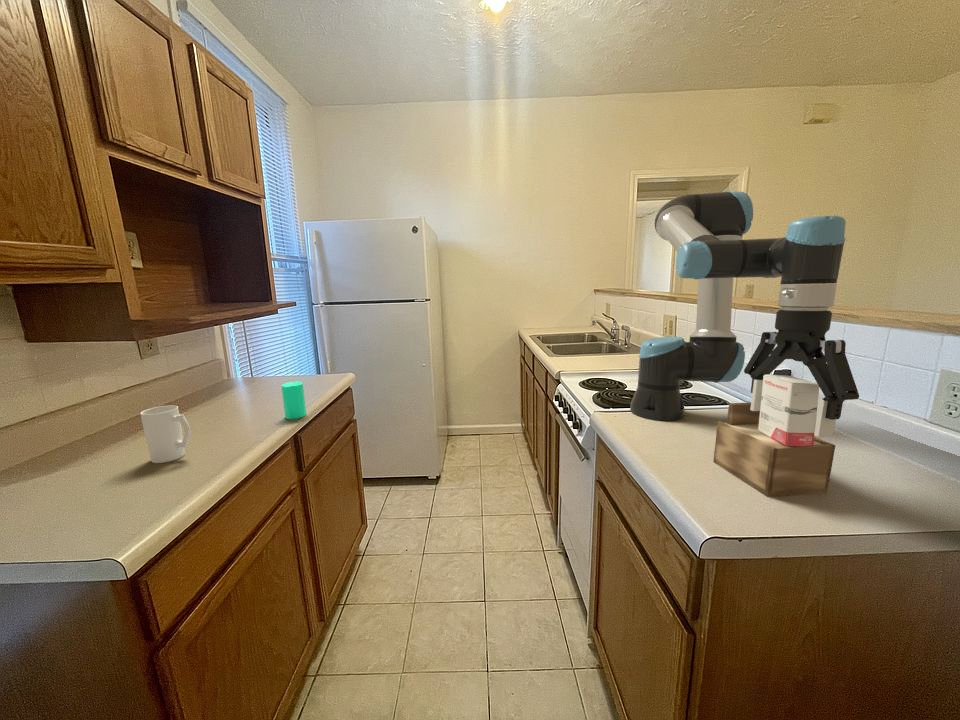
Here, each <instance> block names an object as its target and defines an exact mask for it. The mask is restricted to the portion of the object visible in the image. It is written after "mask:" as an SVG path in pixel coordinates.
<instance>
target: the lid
mask: <svg viewBox="0 0 960 720" xmlns="http://www.w3.org/2000/svg"><path fill="white" fill-rule="evenodd" d="M750 408H751V401H750V402H749V401H748V402H729V403H728V410H727V411H728V412H727V418H726V422H724V423H725V424H727V425H729V426H731V427H733V428H736V429H738V430H740V431H742V432H744V433H746V434H748V435H750V436H752V437H754V438H756V439H759V440H761V441H763V442H765V443H767V444H769V445H771V446H773V447H783V446H786V445H784V444H782V443H780V442H778V441H776V440H775V439H773V438H771V437H769V436H767V435H765V434H764V433H762V432H760V431H758V427H759V417H760V411H751V410H750ZM820 444H821V443H819V442H816V441H814V445H820Z"/></svg>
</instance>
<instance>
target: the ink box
mask: <svg viewBox="0 0 960 720" xmlns="http://www.w3.org/2000/svg"><path fill="white" fill-rule="evenodd" d="M819 394H820V387H819V385H818V384H817V382H815V381H814V382H813V381H811V380H807V379H803V378H798V377H795V376H791V375H787V374H785V375H784V374H783V375H782V374H769V375H764V376H763V387H762V398H761V407H760V417H759V427H758V431H760V432H762V433H764V434H765V435H767V436H769V437H771V438H773V439H775V440H776V441H778V442H780V443H782V444H784V445H786V446H814V437H815V435H814V432H815V426H816V420H817V414H818V406H819V397H820V396H819Z"/></svg>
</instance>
